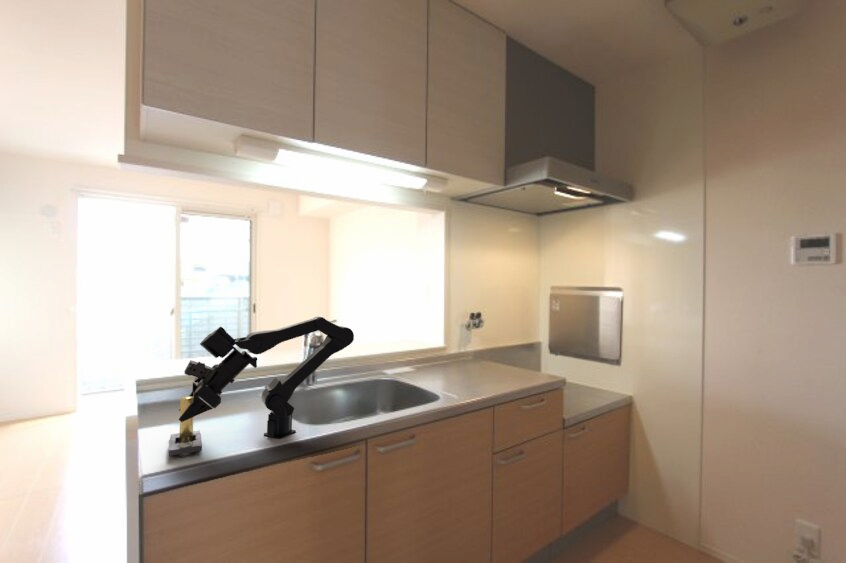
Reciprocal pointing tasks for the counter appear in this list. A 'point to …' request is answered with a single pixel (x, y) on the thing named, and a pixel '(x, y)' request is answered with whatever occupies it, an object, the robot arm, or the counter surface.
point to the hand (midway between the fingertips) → (180, 415)
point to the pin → (187, 425)
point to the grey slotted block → (185, 445)
